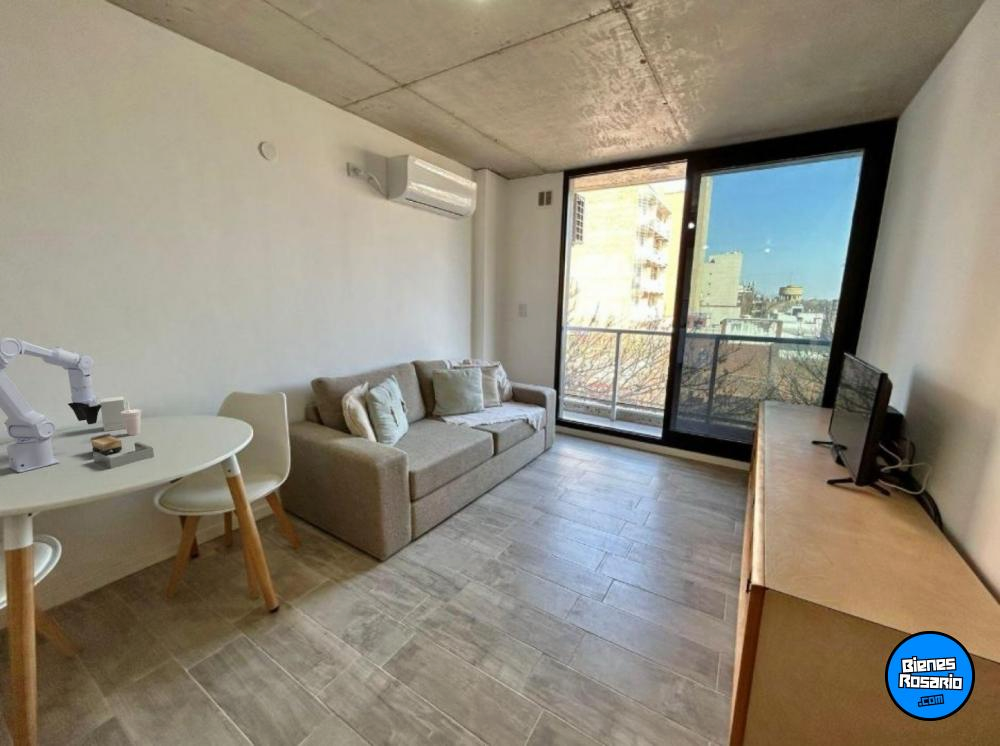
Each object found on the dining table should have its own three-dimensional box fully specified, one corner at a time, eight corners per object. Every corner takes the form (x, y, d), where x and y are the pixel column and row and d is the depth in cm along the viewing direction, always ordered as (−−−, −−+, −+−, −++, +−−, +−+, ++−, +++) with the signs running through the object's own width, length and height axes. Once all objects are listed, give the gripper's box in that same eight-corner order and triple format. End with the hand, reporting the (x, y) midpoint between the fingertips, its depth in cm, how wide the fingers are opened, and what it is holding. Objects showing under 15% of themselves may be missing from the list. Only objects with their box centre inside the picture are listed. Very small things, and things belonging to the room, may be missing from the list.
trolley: (102, 457, 143) (100, 442, 142) (91, 452, 146) (88, 437, 145) (124, 451, 148) (122, 437, 147) (113, 447, 152) (110, 433, 151)
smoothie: (120, 434, 165) (115, 401, 162) (140, 430, 170) (135, 398, 168) (127, 437, 162) (123, 403, 159) (147, 433, 168) (143, 400, 165)
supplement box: (127, 428, 172) (123, 399, 170) (103, 431, 167) (99, 402, 165) (127, 423, 178) (123, 396, 175) (103, 427, 173) (99, 398, 170)
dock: (110, 468, 134) (108, 459, 134) (94, 461, 139) (92, 453, 138) (154, 456, 145) (153, 447, 145) (138, 450, 150) (137, 442, 149)
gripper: (105, 387, 149) (110, 422, 152) (87, 382, 155) (92, 416, 158) (79, 390, 143) (85, 427, 145) (61, 385, 149) (67, 420, 152)
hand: (87, 422), depth 151 cm, fingers open, 7 cm apart
